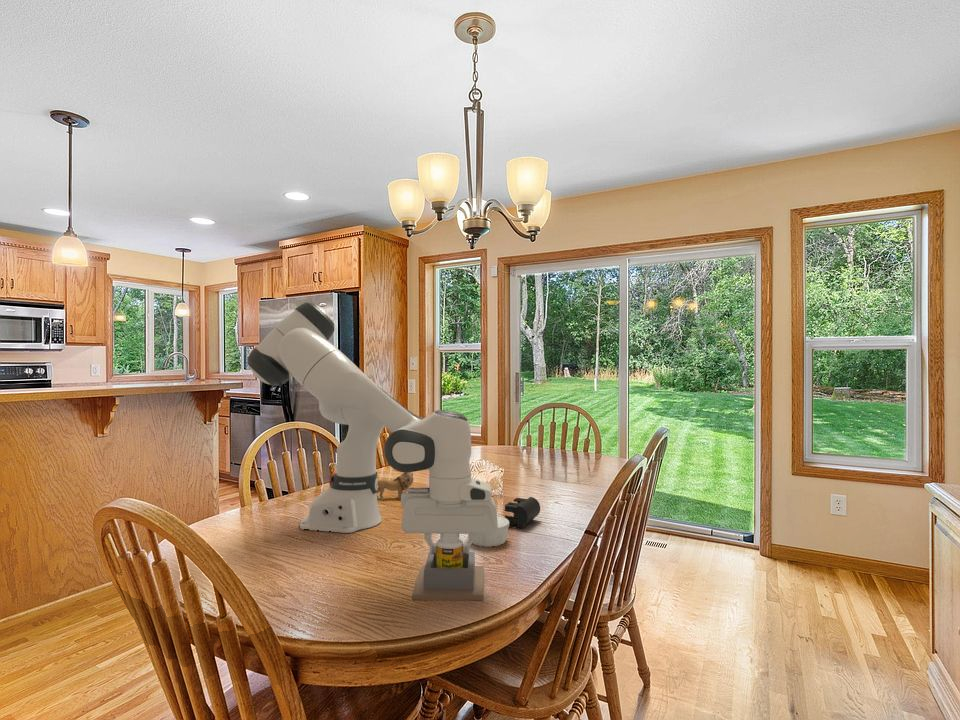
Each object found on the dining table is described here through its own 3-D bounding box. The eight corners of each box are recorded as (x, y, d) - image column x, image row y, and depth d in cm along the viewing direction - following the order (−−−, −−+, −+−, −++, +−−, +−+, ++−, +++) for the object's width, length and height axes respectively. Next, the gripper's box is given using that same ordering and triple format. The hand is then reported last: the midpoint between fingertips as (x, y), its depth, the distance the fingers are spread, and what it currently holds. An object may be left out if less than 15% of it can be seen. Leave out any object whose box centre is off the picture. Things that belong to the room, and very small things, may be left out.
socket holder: (412, 599, 103) (412, 574, 102) (421, 570, 117) (421, 548, 116) (483, 600, 102) (483, 575, 102) (483, 570, 116) (483, 548, 116)
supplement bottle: (438, 586, 106) (438, 536, 106) (434, 575, 111) (434, 527, 111) (465, 583, 107) (465, 534, 107) (460, 573, 113) (460, 525, 113)
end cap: (527, 531, 143) (527, 506, 143) (504, 527, 146) (504, 503, 146) (540, 520, 152) (540, 497, 152) (518, 517, 155) (518, 494, 155)
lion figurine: (412, 495, 179) (412, 469, 179) (414, 499, 174) (414, 472, 174) (369, 498, 176) (369, 471, 176) (369, 502, 170) (369, 475, 170)
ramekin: (480, 531, 143) (480, 512, 143) (516, 538, 137) (516, 518, 137) (458, 543, 133) (458, 523, 133) (496, 552, 128) (496, 530, 128)
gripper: (398, 491, 106) (398, 558, 106) (498, 492, 106) (497, 559, 106) (403, 483, 113) (403, 547, 113) (497, 484, 112) (497, 548, 112)
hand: (449, 553), depth 109 cm, fingers closed on supplement bottle, 5 cm apart
